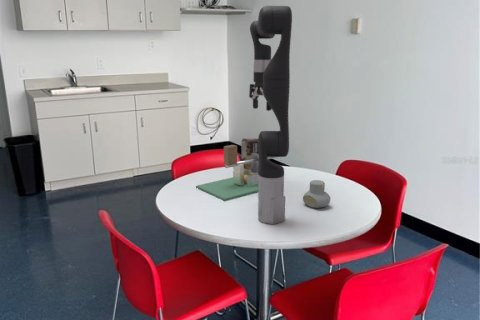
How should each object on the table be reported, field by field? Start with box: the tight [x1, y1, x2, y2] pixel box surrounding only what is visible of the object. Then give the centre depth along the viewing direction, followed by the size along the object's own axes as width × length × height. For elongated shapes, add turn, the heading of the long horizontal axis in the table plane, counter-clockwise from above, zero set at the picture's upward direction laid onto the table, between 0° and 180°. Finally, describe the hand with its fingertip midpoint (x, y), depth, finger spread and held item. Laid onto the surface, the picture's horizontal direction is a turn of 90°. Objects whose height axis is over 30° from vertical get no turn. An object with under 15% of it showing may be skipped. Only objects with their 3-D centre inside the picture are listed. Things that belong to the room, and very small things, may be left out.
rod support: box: [251, 153, 259, 174], centre depth 200 cm, size 7×2×14 cm, turn 38°
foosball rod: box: [223, 144, 277, 186], centre depth 198 cm, size 5×31×18 cm, turn 128°
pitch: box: [195, 176, 258, 202], centre depth 193 cm, size 22×24×1 cm
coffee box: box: [240, 138, 259, 171], centre depth 220 cm, size 9×6×16 cm
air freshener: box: [302, 179, 331, 209], centre depth 171 cm, size 11×8×10 cm
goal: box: [244, 169, 259, 187], centre depth 197 cm, size 11×6×5 cm, turn 38°
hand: (262, 109), depth 183 cm, fingers open, 8 cm apart
